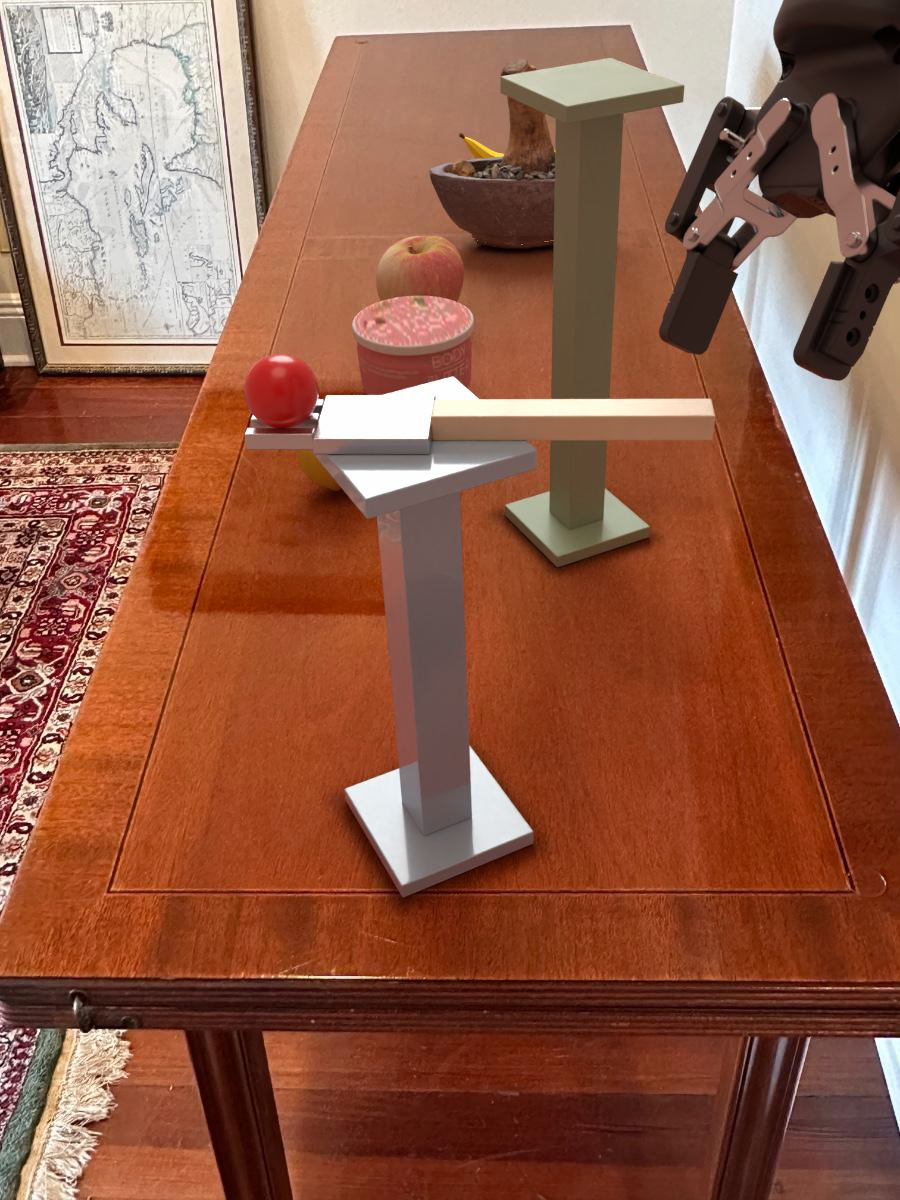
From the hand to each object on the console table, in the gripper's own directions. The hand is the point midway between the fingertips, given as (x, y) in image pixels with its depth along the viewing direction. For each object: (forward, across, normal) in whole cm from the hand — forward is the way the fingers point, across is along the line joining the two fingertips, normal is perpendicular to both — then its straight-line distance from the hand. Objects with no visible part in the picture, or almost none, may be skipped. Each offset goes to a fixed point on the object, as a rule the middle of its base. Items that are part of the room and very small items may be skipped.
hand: (743, 359), depth 46 cm
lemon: (+15, -51, +7) cm, 54 cm away
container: (+6, -61, +15) cm, 63 cm away
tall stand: (+10, -38, +21) cm, 44 cm away
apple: (-2, -76, +19) cm, 79 cm away
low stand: (+27, -17, +6) cm, 33 cm away
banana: (-27, -107, +40) cm, 118 cm away
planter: (-16, -89, +33) cm, 96 cm away
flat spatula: (+6, -9, -5) cm, 12 cm away
